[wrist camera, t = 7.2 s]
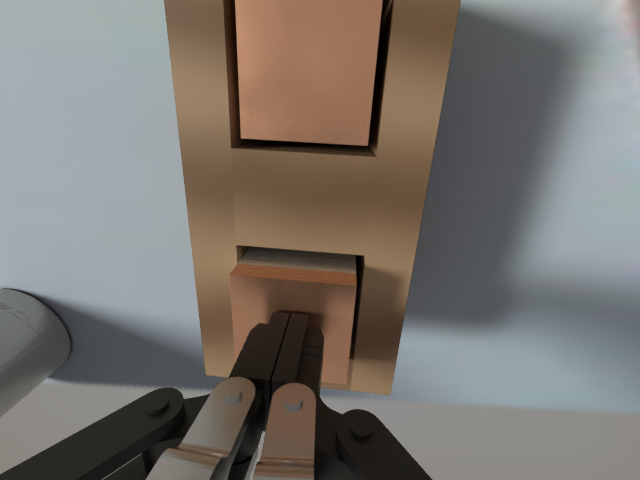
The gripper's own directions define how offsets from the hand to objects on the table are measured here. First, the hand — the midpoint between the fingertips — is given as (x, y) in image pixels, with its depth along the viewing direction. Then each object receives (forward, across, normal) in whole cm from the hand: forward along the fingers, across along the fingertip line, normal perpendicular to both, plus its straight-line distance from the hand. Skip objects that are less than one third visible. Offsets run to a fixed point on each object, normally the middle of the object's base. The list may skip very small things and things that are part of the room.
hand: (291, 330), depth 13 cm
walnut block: (+11, 0, -5) cm, 12 cm away
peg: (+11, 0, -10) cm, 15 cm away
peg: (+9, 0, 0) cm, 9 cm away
